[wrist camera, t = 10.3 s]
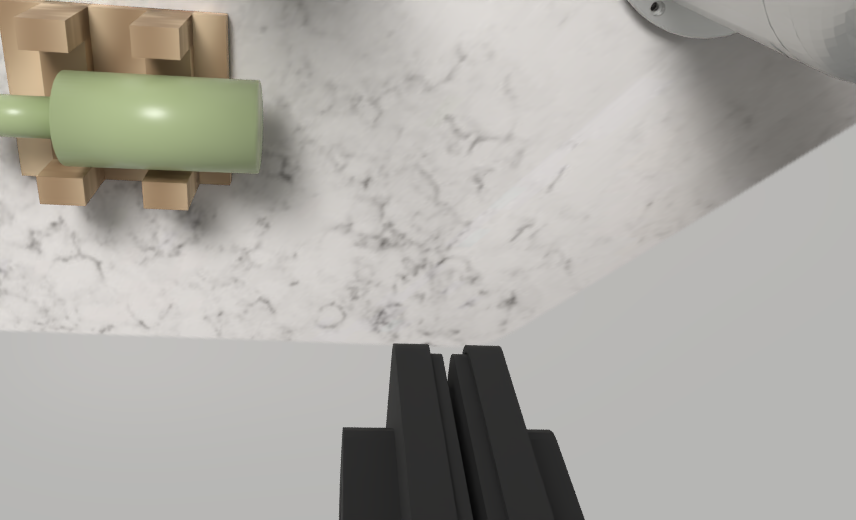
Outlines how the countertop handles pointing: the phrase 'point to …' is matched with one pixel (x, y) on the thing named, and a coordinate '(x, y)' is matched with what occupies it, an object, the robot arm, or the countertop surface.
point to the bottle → (144, 121)
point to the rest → (107, 52)
